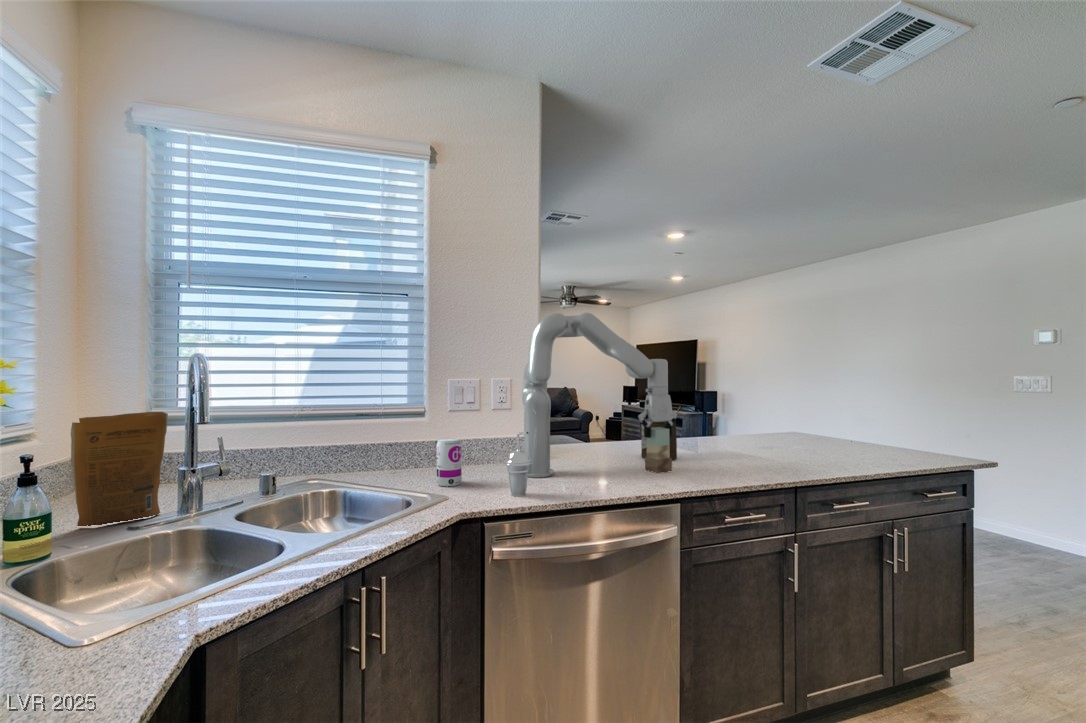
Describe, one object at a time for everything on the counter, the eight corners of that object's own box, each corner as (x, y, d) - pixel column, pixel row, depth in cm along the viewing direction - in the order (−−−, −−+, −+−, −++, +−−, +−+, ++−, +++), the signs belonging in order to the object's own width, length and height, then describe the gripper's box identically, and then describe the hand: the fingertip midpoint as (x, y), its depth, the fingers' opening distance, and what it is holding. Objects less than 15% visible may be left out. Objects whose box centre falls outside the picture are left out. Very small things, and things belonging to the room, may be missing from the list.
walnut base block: (656, 473, 180) (656, 460, 180) (645, 469, 187) (645, 456, 187) (671, 471, 183) (671, 458, 183) (659, 468, 190) (659, 455, 190)
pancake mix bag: (170, 516, 130) (170, 411, 130) (70, 535, 116) (70, 417, 116) (165, 511, 134) (165, 410, 135) (68, 528, 120) (69, 415, 121)
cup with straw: (530, 490, 156) (529, 427, 156) (534, 498, 147) (534, 431, 147) (503, 491, 154) (503, 428, 154) (506, 499, 145) (506, 432, 145)
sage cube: (656, 446, 181) (656, 429, 181) (646, 443, 187) (646, 428, 187) (669, 444, 184) (669, 429, 184) (659, 442, 189) (659, 427, 189)
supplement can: (466, 483, 165) (466, 439, 165) (446, 488, 159) (446, 442, 159) (451, 480, 170) (451, 437, 171) (431, 484, 164) (431, 439, 165)
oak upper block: (657, 459, 181) (657, 446, 181) (646, 457, 186) (646, 443, 186) (669, 458, 184) (669, 444, 184) (658, 455, 189) (658, 442, 189)
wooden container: (640, 454, 218) (640, 405, 218) (674, 455, 216) (674, 405, 216) (642, 461, 204) (642, 408, 204) (679, 461, 202) (678, 408, 202)
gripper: (645, 392, 178) (645, 439, 178) (682, 391, 186) (682, 436, 185) (633, 391, 185) (633, 436, 185) (669, 390, 192) (669, 434, 192)
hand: (658, 436), depth 185 cm, fingers open, 9 cm apart
